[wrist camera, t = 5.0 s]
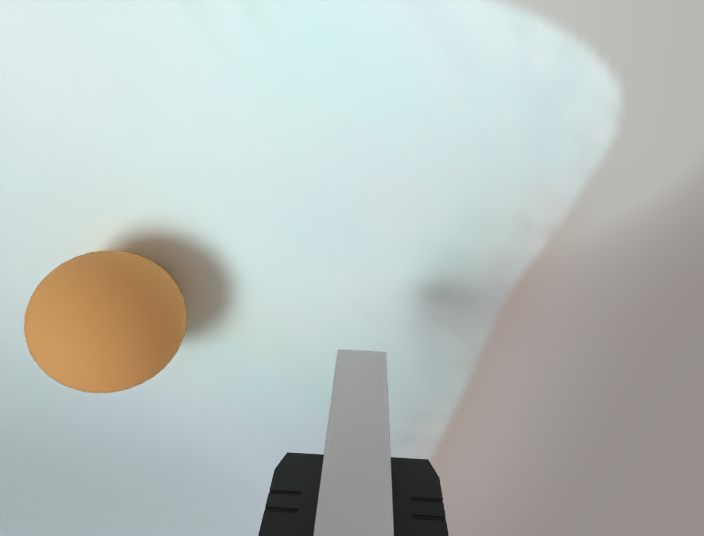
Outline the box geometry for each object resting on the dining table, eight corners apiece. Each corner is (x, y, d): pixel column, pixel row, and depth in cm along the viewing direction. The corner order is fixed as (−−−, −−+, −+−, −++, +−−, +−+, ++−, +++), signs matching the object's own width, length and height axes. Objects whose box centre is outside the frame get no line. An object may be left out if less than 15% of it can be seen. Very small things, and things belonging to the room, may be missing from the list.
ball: (211, 341, 21) (161, 428, 16) (97, 336, 21) (11, 421, 16) (197, 233, 18) (133, 294, 13) (69, 228, 18) (-42, 287, 13)
